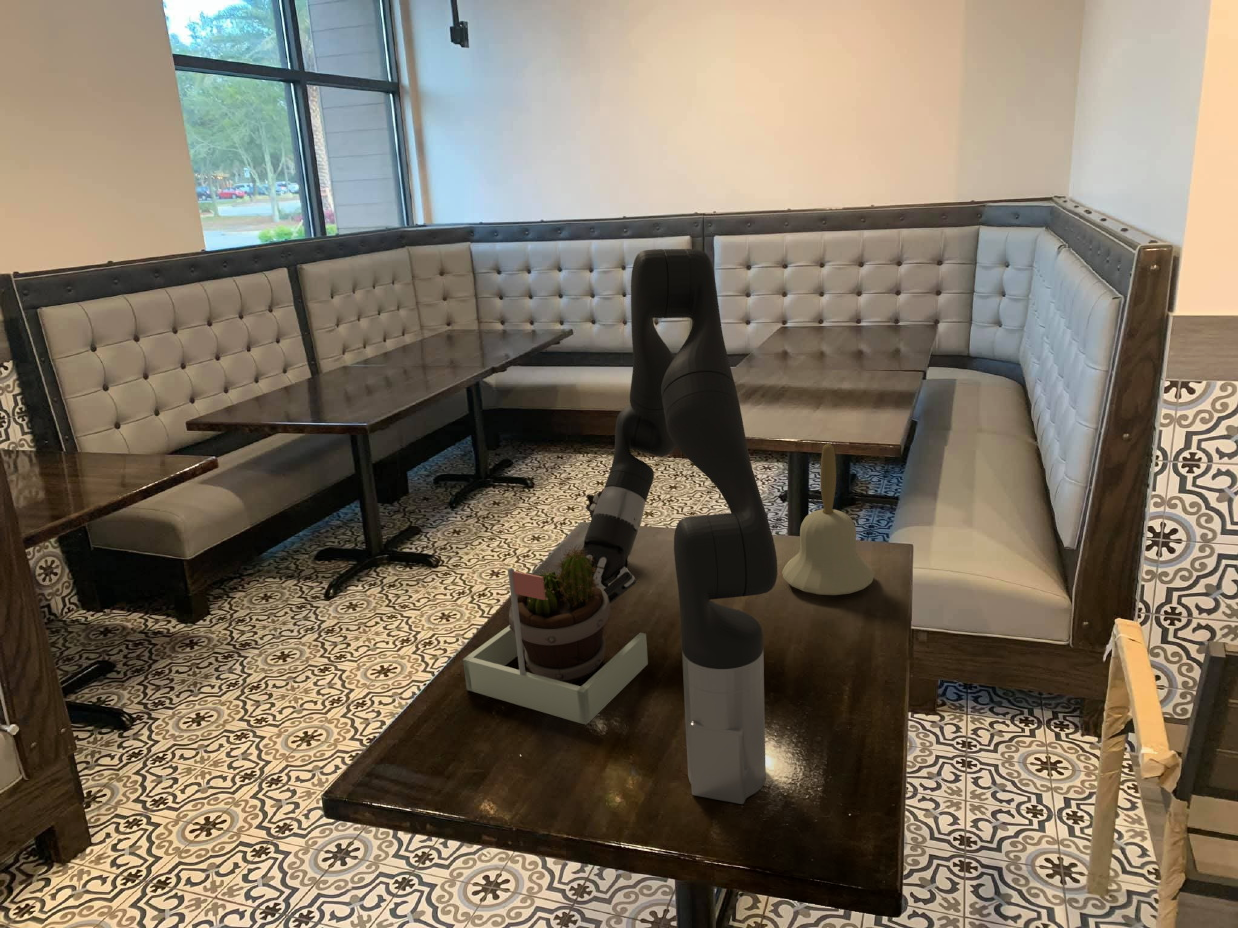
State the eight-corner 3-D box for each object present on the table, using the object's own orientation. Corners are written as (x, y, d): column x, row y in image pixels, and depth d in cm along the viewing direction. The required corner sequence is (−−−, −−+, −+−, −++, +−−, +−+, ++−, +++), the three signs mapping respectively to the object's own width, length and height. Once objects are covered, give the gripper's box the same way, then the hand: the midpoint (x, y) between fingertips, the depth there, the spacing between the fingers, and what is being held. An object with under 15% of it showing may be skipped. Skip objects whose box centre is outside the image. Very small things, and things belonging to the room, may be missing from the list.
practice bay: (535, 636, 143) (522, 515, 137) (647, 663, 133) (639, 534, 127) (466, 689, 130) (448, 557, 123) (586, 724, 119) (573, 582, 113)
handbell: (767, 592, 153) (765, 452, 145) (802, 558, 165) (801, 427, 157) (856, 610, 145) (858, 463, 137) (886, 573, 156) (889, 436, 149)
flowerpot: (505, 694, 128) (483, 571, 121) (535, 635, 142) (517, 521, 135) (603, 698, 125) (587, 572, 118) (625, 637, 139) (611, 521, 132)
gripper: (569, 506, 142) (532, 609, 136) (643, 517, 135) (606, 626, 129) (590, 525, 148) (555, 625, 142) (661, 537, 141) (627, 642, 135)
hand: (579, 626), depth 135 cm, fingers closed
